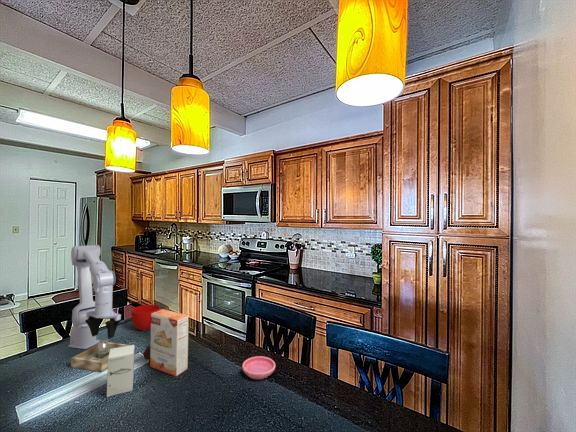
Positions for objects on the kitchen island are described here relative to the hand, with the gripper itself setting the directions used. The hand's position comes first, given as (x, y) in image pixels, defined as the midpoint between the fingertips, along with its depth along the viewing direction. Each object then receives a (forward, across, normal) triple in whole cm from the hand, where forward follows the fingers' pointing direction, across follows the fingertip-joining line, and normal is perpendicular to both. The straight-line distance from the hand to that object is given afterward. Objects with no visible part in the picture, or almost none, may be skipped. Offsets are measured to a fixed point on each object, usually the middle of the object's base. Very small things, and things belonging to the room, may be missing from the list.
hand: (103, 336), depth 107 cm
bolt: (+10, -15, -12) cm, 21 cm away
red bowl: (+10, +4, -30) cm, 32 cm away
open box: (+9, 0, 0) cm, 9 cm away
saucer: (+10, -63, -7) cm, 64 cm away
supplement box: (+10, -21, +13) cm, 26 cm away
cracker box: (+10, -29, -1) cm, 31 cm away
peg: (+9, 0, 0) cm, 9 cm away
